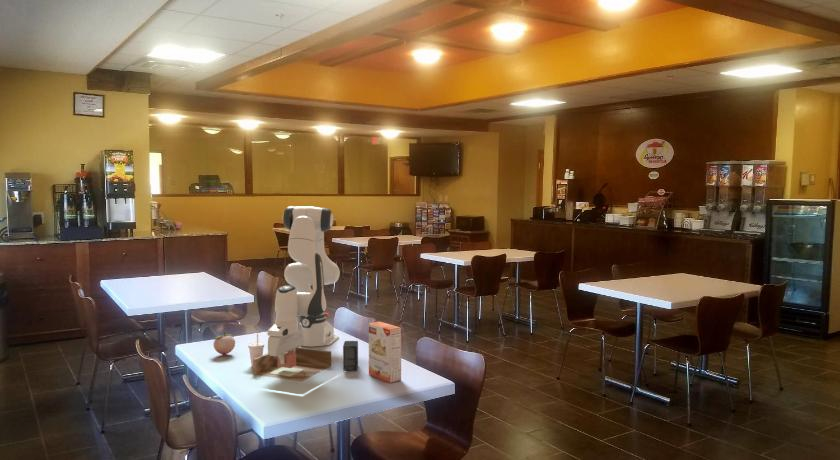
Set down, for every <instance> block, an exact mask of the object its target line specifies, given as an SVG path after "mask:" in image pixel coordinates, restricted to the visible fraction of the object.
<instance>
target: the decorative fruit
mask: <svg viewBox="0 0 840 460" xmlns="http://www.w3.org/2000/svg"><path fill="white" fill-rule="evenodd" d="M223 333H224V334H223V335H218V336H216V337H215V338H214V340H213V348H214V350H215V351H216V353H218V354H220V355H222V356H226V355H228V354H229V353H231V352H233V350H234V349H235V347H236V340H235V338H234V337H235V336H234V335H233V334H230V333H228V334H226V333H225V332H223Z"/></svg>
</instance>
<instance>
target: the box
mask: <svg viewBox="0 0 840 460" xmlns="http://www.w3.org/2000/svg"><path fill="white" fill-rule="evenodd" d="M342 350H343V351H342V353H343V354H342V359H343V361H342V366H343V367H342V369H343V372H358V367H359V342H358V340H345V341H344V342H343V347H342Z"/></svg>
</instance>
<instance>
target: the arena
mask: <svg viewBox="0 0 840 460" xmlns="http://www.w3.org/2000/svg"><path fill="white" fill-rule="evenodd" d="M288 352H290V351H288ZM295 353H296V366H294V367H293V368H300V369H305V370H303V371H301V372H299V373H297V374H295V375H293V376H291V377H289V376H282V375H275V374H269V373H270V372H272V371H274V370H277V369H279V368H281V367H278V357H277V356H276V357H275V356H270V355H269V354H268V352H267V353H265V354H263V355H262V356H260V357H257V358H255V359H253V367H252V368H253V375H255V376H262V377H268V378H269V377H270V378H276V379H285V380H290V381H291V380H292V381H296V382H297V381H299V382H303V381H305V380H306V379H309V378H311V377H313V376H314V375H317V374H318V373H320V372H322V371H324V370H326V369H328V368H330V367H332V350H323V349H316V348H307V347H301V346H300V347H298V348H296V351H295Z"/></svg>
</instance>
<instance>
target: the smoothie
mask: <svg viewBox="0 0 840 460" xmlns="http://www.w3.org/2000/svg"><path fill="white" fill-rule="evenodd" d="M247 346H248V347H247V348H249V354H250V364H251V367H252V368H253V359H255V358H257V357H260V356H262V355H264V347H265V343H263V342H259V333H256V342H251V343H249V344H248V345H247Z"/></svg>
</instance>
